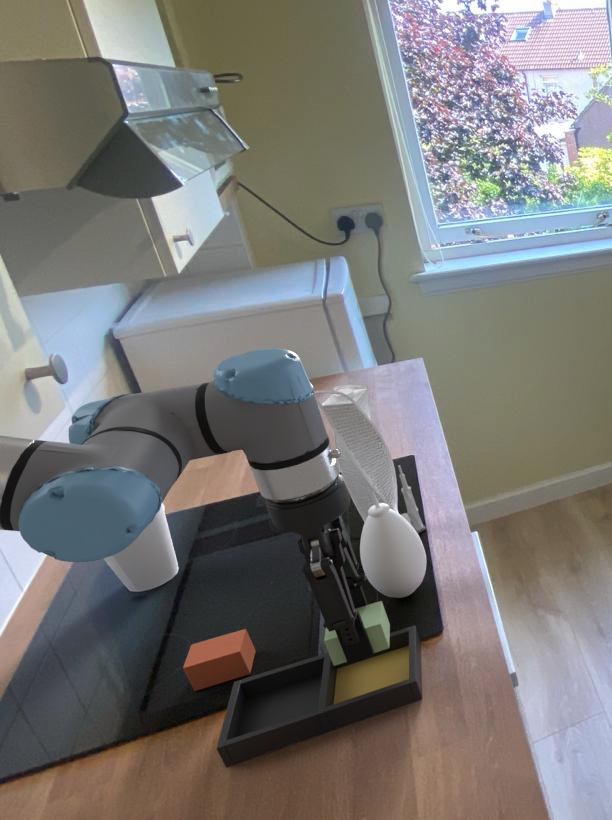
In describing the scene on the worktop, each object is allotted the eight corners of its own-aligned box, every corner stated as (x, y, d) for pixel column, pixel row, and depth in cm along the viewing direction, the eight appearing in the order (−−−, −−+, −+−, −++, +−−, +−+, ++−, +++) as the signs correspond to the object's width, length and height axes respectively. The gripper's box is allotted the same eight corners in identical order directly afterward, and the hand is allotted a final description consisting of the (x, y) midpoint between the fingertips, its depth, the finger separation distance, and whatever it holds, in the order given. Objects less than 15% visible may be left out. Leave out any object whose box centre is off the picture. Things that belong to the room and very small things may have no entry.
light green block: (333, 666, 88) (323, 641, 86) (336, 641, 92) (327, 616, 90) (389, 648, 90) (380, 623, 89) (390, 624, 94) (381, 600, 92)
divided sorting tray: (225, 767, 83) (215, 748, 82) (242, 699, 92) (233, 681, 91) (422, 698, 91) (416, 680, 90) (420, 642, 100) (415, 625, 99)
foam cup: (200, 553, 119) (170, 485, 114) (177, 589, 111) (142, 519, 106) (130, 566, 116) (95, 498, 111) (101, 605, 108) (62, 533, 103)
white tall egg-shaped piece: (363, 606, 107) (326, 503, 99) (403, 571, 114) (371, 473, 106) (407, 615, 105) (373, 511, 97) (445, 579, 112) (416, 480, 104)
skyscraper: (375, 555, 117) (323, 399, 106) (352, 537, 122) (300, 386, 110) (426, 528, 123) (382, 379, 112) (402, 512, 128) (358, 367, 116)
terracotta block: (194, 691, 93) (182, 668, 92) (202, 667, 97) (191, 644, 95) (250, 674, 96) (239, 651, 94) (256, 650, 99) (246, 628, 98)
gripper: (335, 516, 75) (394, 682, 85) (346, 441, 90) (396, 590, 99) (249, 538, 72) (320, 707, 82) (274, 457, 87) (332, 609, 96)
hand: (361, 643), depth 91 cm, fingers closed on light green block, 4 cm apart
